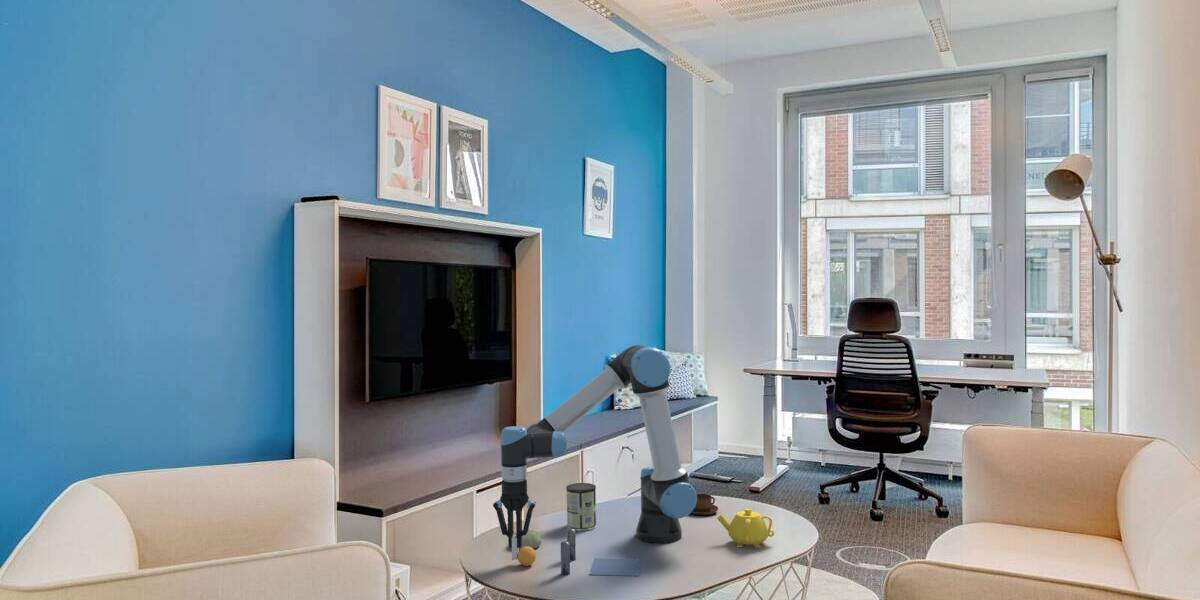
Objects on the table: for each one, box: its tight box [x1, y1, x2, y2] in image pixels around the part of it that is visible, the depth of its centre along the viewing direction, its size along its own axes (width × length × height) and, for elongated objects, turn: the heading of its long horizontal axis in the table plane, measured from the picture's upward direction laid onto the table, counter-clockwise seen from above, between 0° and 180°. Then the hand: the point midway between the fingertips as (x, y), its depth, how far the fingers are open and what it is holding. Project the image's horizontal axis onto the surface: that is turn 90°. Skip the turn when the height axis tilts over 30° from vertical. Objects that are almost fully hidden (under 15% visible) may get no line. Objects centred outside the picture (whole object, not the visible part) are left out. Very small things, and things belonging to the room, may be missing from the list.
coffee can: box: [565, 482, 597, 532], centre depth 273 cm, size 10×10×14 cm
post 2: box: [566, 528, 577, 562], centre depth 239 cm, size 3×3×9 cm
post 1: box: [560, 540, 571, 576], centre depth 227 cm, size 3×3×9 cm
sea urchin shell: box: [513, 529, 543, 550], centre depth 252 cm, size 9×8×8 cm
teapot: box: [716, 507, 775, 548], centre depth 253 cm, size 14×14×11 cm
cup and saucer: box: [690, 493, 719, 516], centre depth 290 cm, size 12×12×6 cm
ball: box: [517, 546, 537, 567], centre depth 234 cm, size 6×6×6 cm
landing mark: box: [589, 557, 642, 577], centre depth 232 cm, size 14×14×1 cm
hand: (515, 558), depth 235 cm, fingers closed
